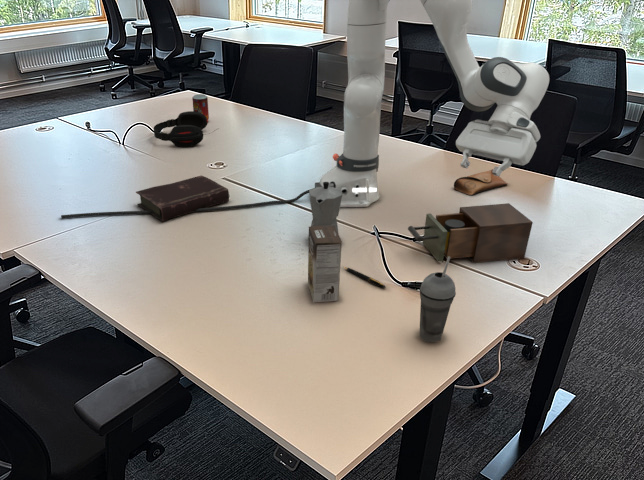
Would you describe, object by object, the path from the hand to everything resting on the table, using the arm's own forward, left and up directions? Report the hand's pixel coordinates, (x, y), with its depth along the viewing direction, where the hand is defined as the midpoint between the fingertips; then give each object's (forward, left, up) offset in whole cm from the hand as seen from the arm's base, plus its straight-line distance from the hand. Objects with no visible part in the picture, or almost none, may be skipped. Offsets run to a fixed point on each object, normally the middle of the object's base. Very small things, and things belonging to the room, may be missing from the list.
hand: (479, 170), depth 152 cm
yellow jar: (-6, -3, -20) cm, 21 cm away
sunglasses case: (+24, +41, -22) cm, 52 cm away
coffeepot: (-38, +11, -22) cm, 45 cm away
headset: (-74, +118, -22) cm, 140 cm away
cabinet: (+5, -3, -22) cm, 23 cm away
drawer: (-8, -3, -21) cm, 23 cm away
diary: (-77, +46, -22) cm, 93 cm away
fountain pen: (-33, -12, -22) cm, 41 cm away
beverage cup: (-26, -39, -22) cm, 52 cm away
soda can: (-67, +144, -22) cm, 160 cm away
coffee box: (-45, -17, -22) cm, 53 cm away
